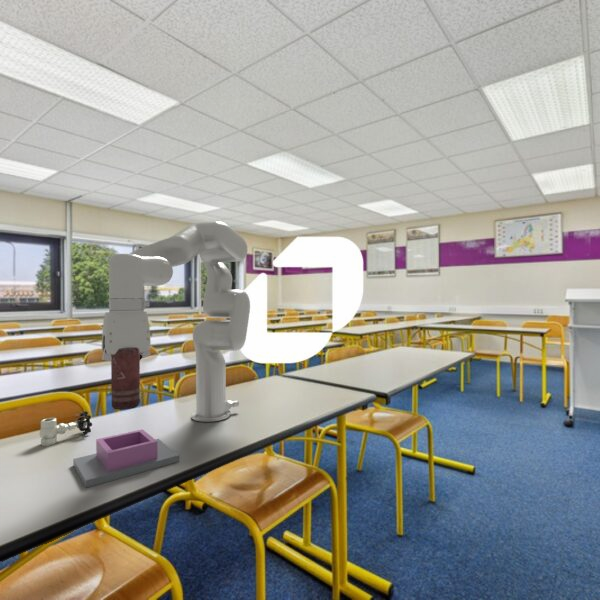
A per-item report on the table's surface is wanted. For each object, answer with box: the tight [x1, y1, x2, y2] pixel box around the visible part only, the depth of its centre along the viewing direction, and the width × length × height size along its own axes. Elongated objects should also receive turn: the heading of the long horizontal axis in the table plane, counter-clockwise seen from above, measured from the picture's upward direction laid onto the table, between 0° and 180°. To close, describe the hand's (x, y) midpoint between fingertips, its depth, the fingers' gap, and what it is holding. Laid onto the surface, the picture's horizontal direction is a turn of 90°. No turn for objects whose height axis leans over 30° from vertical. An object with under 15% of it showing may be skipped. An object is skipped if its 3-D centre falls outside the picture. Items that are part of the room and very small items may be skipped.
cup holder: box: [72, 428, 180, 489], centre depth 92 cm, size 20×14×6 cm
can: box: [110, 348, 141, 411], centre depth 91 cm, size 6×6×14 cm
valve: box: [39, 410, 93, 447], centre depth 108 cm, size 7×7×12 cm
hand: (127, 383), depth 92 cm, fingers closed
